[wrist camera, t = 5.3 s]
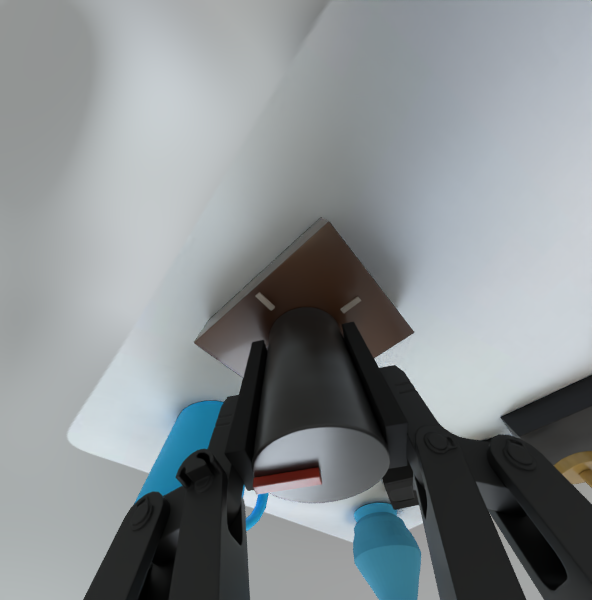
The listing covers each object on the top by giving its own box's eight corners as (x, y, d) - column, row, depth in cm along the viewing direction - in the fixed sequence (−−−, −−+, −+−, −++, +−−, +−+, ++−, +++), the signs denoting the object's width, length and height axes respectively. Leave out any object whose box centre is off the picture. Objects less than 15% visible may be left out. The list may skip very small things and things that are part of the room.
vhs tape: (490, 469, 29) (503, 487, 27) (387, 491, 31) (393, 509, 29) (492, 438, 26) (507, 456, 24) (377, 465, 28) (383, 483, 26)
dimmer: (335, 299, 14) (393, 422, 6) (344, 358, 16) (395, 503, 8) (260, 315, 14) (228, 451, 6) (279, 371, 16) (272, 521, 9)
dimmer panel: (321, 216, 14) (329, 221, 11) (395, 312, 18) (416, 333, 15) (207, 320, 17) (192, 344, 15) (289, 384, 21) (289, 413, 18)
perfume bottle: (334, 519, 34) (365, 731, 20) (370, 493, 31) (435, 724, 17) (378, 529, 36) (432, 726, 23) (416, 506, 33) (505, 719, 19)
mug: (162, 428, 23) (103, 536, 16) (206, 388, 21) (161, 493, 13) (248, 468, 27) (233, 570, 20) (293, 439, 25) (295, 541, 17)
